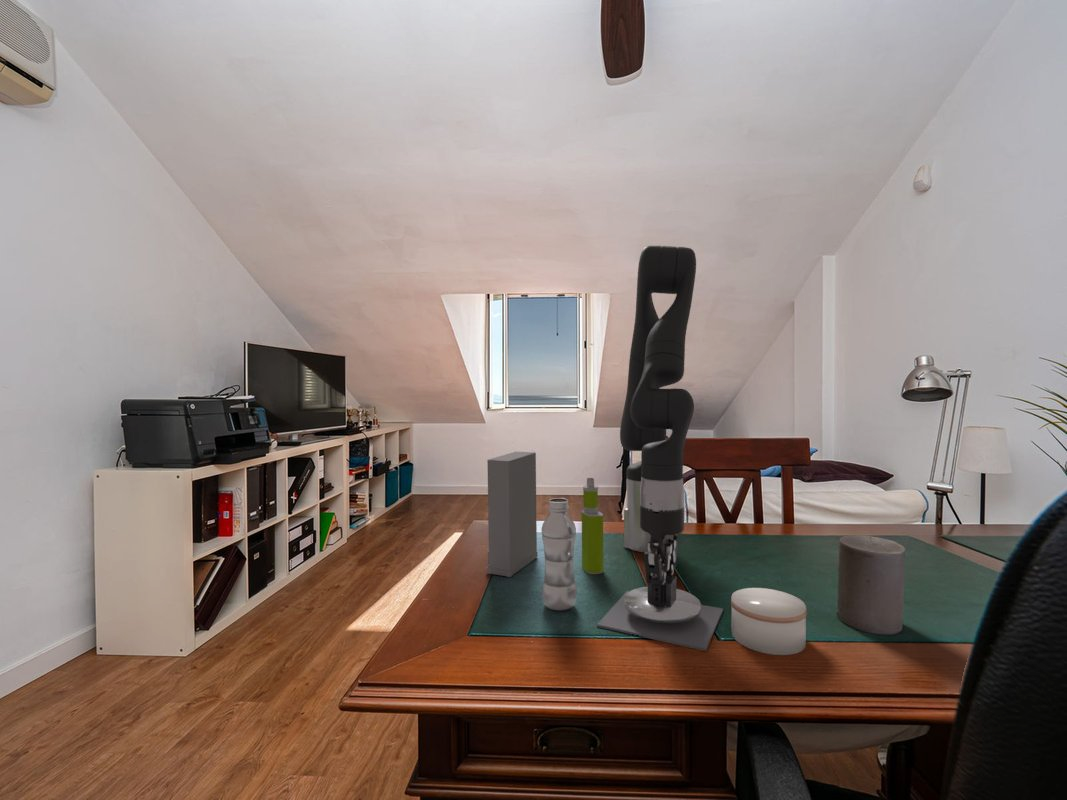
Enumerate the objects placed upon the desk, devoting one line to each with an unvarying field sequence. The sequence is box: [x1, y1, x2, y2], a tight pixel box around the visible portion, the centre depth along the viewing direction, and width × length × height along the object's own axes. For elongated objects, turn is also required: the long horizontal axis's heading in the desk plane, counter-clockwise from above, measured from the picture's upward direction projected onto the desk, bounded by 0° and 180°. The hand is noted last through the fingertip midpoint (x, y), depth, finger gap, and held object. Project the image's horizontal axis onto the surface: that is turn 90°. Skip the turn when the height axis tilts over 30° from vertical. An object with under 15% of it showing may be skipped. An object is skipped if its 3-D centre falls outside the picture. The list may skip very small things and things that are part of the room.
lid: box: [625, 574, 702, 623], centre depth 94 cm, size 13×13×5 cm
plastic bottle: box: [541, 497, 578, 611], centre depth 99 cm, size 6×7×20 cm
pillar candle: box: [836, 534, 906, 635], centre depth 92 cm, size 10×10×15 cm
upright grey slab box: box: [485, 450, 539, 578], centre depth 121 cm, size 14×6×25 cm, turn 155°
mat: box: [596, 590, 724, 652], centre depth 94 cm, size 18×16×1 cm
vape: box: [581, 477, 604, 575], centre depth 118 cm, size 4×6×20 cm, turn 14°
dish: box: [730, 587, 808, 656], centre depth 87 cm, size 11×11×6 cm
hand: (661, 599), depth 94 cm, fingers closed on lid, 4 cm apart
